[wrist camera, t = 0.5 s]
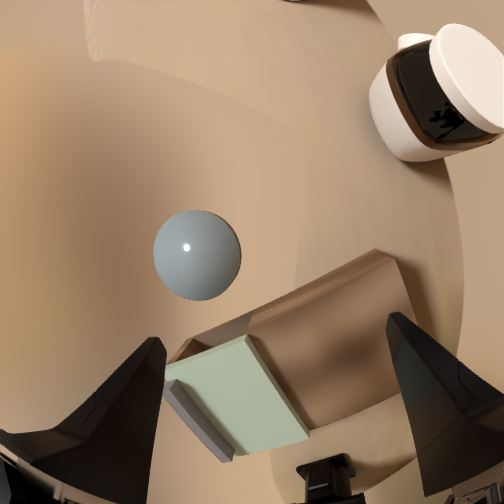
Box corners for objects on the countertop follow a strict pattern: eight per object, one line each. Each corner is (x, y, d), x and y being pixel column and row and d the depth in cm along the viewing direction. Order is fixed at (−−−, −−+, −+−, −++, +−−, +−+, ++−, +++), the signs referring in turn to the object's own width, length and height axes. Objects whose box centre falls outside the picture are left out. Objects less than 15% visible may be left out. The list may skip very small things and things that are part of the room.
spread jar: (382, 174, 20) (457, 148, 9) (333, 60, 19) (354, -26, 8) (478, 150, 18) (558, 130, 7) (433, 50, 17) (484, -7, 5)
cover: (309, 431, 19) (309, 451, 17) (233, 450, 21) (228, 468, 18) (246, 333, 19) (240, 351, 16) (165, 365, 20) (152, 381, 18)
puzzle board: (411, 348, 22) (430, 374, 17) (242, 417, 26) (233, 449, 21) (374, 248, 21) (394, 259, 16) (186, 339, 25) (165, 365, 20)
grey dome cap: (257, 273, 23) (255, 276, 22) (185, 309, 25) (181, 313, 23) (213, 193, 22) (209, 193, 21) (146, 237, 24) (139, 238, 23)
